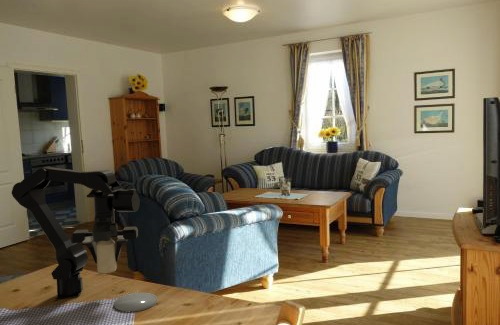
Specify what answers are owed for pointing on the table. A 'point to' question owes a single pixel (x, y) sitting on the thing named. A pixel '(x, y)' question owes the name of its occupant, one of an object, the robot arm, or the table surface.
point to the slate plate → (135, 302)
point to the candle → (106, 256)
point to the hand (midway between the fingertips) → (106, 262)
